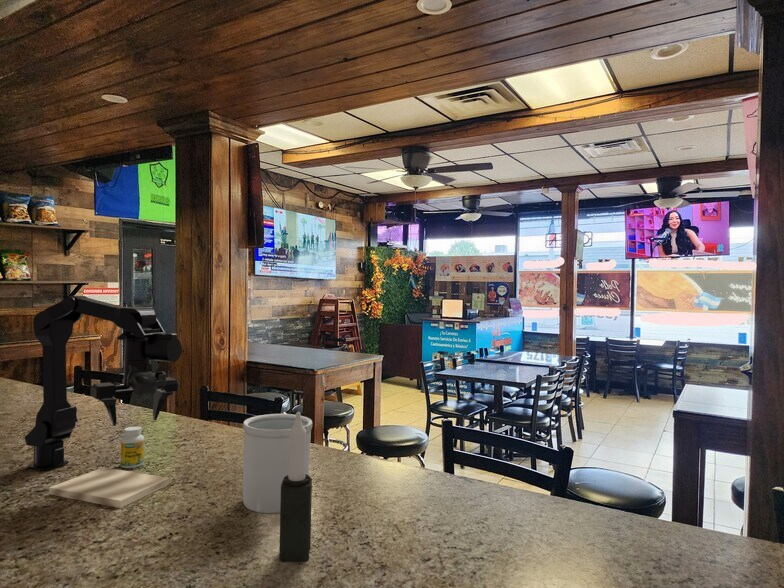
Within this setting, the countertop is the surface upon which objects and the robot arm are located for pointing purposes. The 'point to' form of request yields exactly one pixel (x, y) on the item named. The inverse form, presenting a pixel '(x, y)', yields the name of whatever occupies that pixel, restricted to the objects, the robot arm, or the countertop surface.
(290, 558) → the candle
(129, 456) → the supplement bottle
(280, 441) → the utensil holder
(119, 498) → the serving board
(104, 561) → the countertop surface
